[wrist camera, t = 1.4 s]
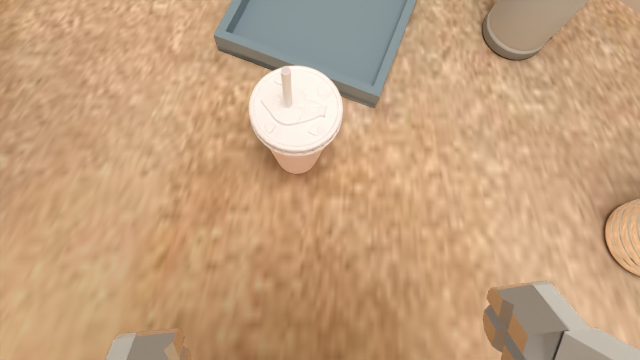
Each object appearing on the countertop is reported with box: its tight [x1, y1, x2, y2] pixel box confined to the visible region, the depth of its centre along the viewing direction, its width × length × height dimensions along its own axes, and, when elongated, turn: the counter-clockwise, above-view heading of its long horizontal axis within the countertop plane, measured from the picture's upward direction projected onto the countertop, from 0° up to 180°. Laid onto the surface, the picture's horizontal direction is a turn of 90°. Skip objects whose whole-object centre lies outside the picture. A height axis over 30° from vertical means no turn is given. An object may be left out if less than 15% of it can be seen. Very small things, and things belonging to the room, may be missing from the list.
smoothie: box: [249, 66, 343, 174], centre depth 29 cm, size 6×6×14 cm
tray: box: [214, 0, 416, 108], centre depth 39 cm, size 16×16×2 cm
